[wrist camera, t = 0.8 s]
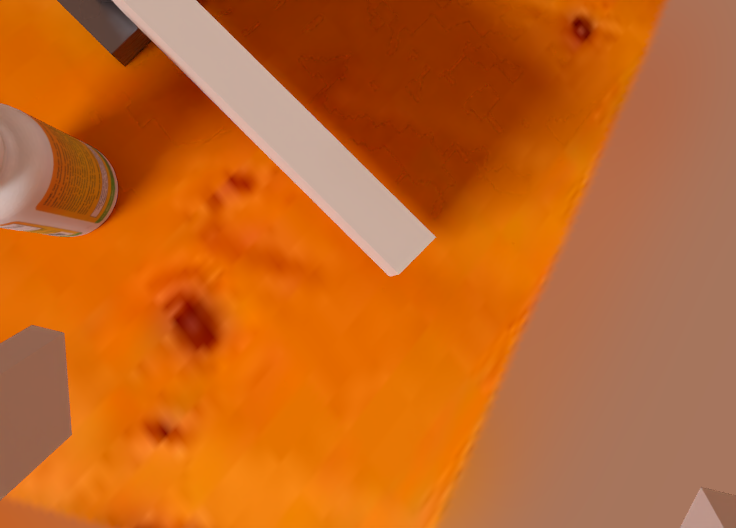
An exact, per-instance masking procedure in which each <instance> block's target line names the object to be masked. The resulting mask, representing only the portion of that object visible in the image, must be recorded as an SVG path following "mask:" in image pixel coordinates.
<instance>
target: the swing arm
mask: <svg viewBox="0 0 736 528" xmlns="http://www.w3.org/2000/svg"><path fill="white" fill-rule="evenodd" d="M112 1H113V2H114V3H115V4H116V5H117V6H118V8H119V9H120V10H121V11H122V12H123V13H124V14H125V15H126V16H127V17H128V18H129V19H130V20H131V21H132V22H133V23H134V24H135V25H136V26H137V27H138V28H139V29H140V30H141V31H142V32H143V33H144V34H145V35H146V36H147V37H148V38H149V39H150V40H151V41H152V42H153V43H154V44H156V45H157V46H158V47H159V48H160V49H161V50H162V51H163V52H164V53H165V54H166V55H167V56H168V57H169V58H170V59H171V60H172V61H173V62H174V63H175V64H176V65H177V66H178V67H179V68H180V69H181V70H182V71H183V72H184V73H185V74H186V75H187V76H188V77H189V78H190V79H191V80H192V81H193V82H194V83H195V84H196V85H197V86H198V87H199V88H200V89H201V90H202V91H203V92H204V93H205V94H206V95H207V96H208V97H209V98H210V99H211V100H212V101H213V102H214V103H215V104H216V105H217V106H218V107H219V108H220V109H221V110H222V111H223V112H224V113H225V114H226V115H227V116H228V117H229V118H230V119H231V120H232V121H233V122H234V123H235V124H236V125H237V126H238V127H239V128H240V129H241V130H242V131H243V132H244V133H245V134H246V135H247V136H248V137H249V138H250V139H251V140H252V141H253V142H254V143H255V144H256V145H257V146H258V147H259V148H260V149H261V150H262V151H263V152H264V153H265V154H266V155H267V156H268V157H269V158H270V159H271V160H272V161H273V162H274V163H275V164H276V165H277V166H278V167H279V168H280V169H282V170H283V171H284V172H285V173H286V174H287V175H288V176H289V177H290V178H291V179H292V180H293V181H294V182H295V183H296V184H297V185H298V186H299V187H300V188H301V189H302V190H303V191H304V192H305V193H306V194H307V195H308V196H309V197H310V198H311V199H312V200H313V201H314V202H315V203H316V204H317V205H318V206H319V207H320V208H321V209H322V210H323V211H324V212H325V213H326V214H327V215H328V216H329V217H330V218H331V219H332V220H333V221H334V222H335V223H336V224H337V225H338V226H339V227H340V228H341V229H342V230H343V231H344V232H345V233H346V234H347V235H348V236H349V237H350V238H351V239H352V240H353V241H354V242H355V243H356V244H357V245H358V246H359V247H360V248H361V249H362V250H363V251H364V252H365V253H366V254H367V255H368V256H369V257H370V258H371V259H372V260H373V261H374V262H375V263H376V264H377V265H378V266H379V267H380V268H381V269H382V270H383V271H384V272H385V273H386V274H387V275H388V276H394V275H398V274H400V273H401V272H402V271H403V270H404V269H405V268H406V267H407V266H408V265H409V264H410V263H411V262H412V261H413V260H414V259H415V258H416V257H417V256H418V255H419V254H420V253H421V252H422V251H423V250H424V249H425V248H426V247H427V246H428V245H429V244H430V243H431V242H432V241H433V240H434V239H435V238H436V237H435V236H434V235H433V234H432V233H431V232H430V231H429V230H428V229H427V228H426V227H425V226H424V225H423V224H422V223H421V222H420V221H419V220H418V219H417V218H416V217H415V216H414V215H413V214H412V213H411V212H410V211H409V210H408V209H407V208H406V207H405V206H404V205H403V204H402V203H401V202H400V201H399V200H398V199H397V198H396V197H395V196H394V195H393V194H392V193H391V192H390V191H389V190H388V189H387V188H386V187H385V186H384V185H383V184H382V183H381V182H380V181H379V180H378V179H376V178H375V177H374V176H373V175H372V174H371V173H370V172H369V171H368V170H367V169H366V168H365V167H364V166H363V165H362V164H361V163H360V162H359V161H358V160H357V159H356V158H355V157H354V156H353V155H352V154H351V153H350V152H349V151H348V150H347V149H346V148H345V147H344V146H343V145H342V144H341V143H340V142H339V141H338V140H337V139H336V138H335V137H334V136H333V135H332V134H331V133H330V132H329V131H328V130H327V129H326V128H325V127H324V126H323V125H322V124H321V123H320V122H319V121H318V120H317V119H316V118H315V117H314V116H313V115H312V114H311V113H310V112H309V111H308V110H307V109H306V108H305V107H304V106H303V105H302V104H301V103H300V102H299V101H298V100H297V99H296V98H295V97H294V96H293V95H291V94H290V93H289V92H288V91H287V90H286V89H285V88H284V87H283V86H282V85H281V84H280V83H279V82H278V81H277V80H276V79H275V78H274V77H273V76H272V75H271V74H270V73H269V72H268V71H267V70H266V69H265V68H264V67H263V66H262V65H261V64H260V63H259V62H258V61H257V60H256V59H255V58H254V57H253V56H252V55H251V54H250V53H249V52H248V51H247V50H246V49H245V48H244V47H243V46H242V45H241V44H240V43H239V42H238V41H237V40H236V39H235V38H234V37H233V36H232V35H231V34H230V33H229V32H228V31H227V30H226V29H225V28H224V27H223V26H222V25H221V24H220V23H219V22H218V21H217V20H216V19H215V18H214V17H213V16H212V15H211V14H210V13H209V12H208V11H206V10H205V9H204V8H203V7H202V6H201V5H200V4H199V3H198V2H197V1H196V0H112Z"/></svg>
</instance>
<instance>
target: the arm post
mask: <svg viewBox="0 0 736 528" xmlns="http://www.w3.org/2000/svg"><path fill="white" fill-rule="evenodd" d="M57 1H58V2H59V3H60V4H61V5H62V6H63V7H64V8H65V9H66V10H67V11H68V12H69V13H71V14H72V15H73V16H74V17H75V18H76V19H77V20H78V21H79V22H80V23H81V24H82V25H83V26H84V27H85V28H86V29H87V30H88V31H89V32H90V33H91V34H92V35H93V36H94V37H95V38H96V39H97V40H98V41H99V42H100V43H101V44H102V45H103V46H104V47H105V48H106V49H107V50H108V51H109V52H110V53H111V54H112V55H113V56H114V57H115V58H116V59H117V60H118V61H119V62H121V63H122V64H123V65H124V66H126V65H127V64H128V63H129V62H130V61H131V60H132V59H133V58H134V57H135V56H136V55H137V54H138V53H139V52H140V51H141V50H142V49H143V48H144V47H145V46H146V45H147V44H149V43H150V42H151V40H150V39H149V38H148V37H147V36H146V35H145V34H144V33H143V32H142V31H141V30H140V29H139V28H138V27H137V26H136V25H135V24H134V23H133V22H132V21H131V20H130V19H129V18H128V17H127V16H126V15H125V14H124V13H123V12H122V11H121V10H120V9H119V8H118V6H117V5H116V4H115V3H114V2H113V1H112V0H57Z"/></svg>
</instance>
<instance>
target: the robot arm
mask: <svg viewBox="0 0 736 528" xmlns="http://www.w3.org/2000/svg"><path fill="white" fill-rule="evenodd" d="M71 435H72V432H71V418H70V405H69V392H68V378H67V365H66V352H65V338H64V333H63V332H59V331H55V330H50V329H46V328H42V327H38V326H34V325H31V326H30V327H28V328H26V329H24V330H23V331H21V332H19V333H18V334H16V335H14V336H12V337H11V338H9V339H7V340H6V341H4V342H2V343H0V500H1V499H2V498H4V497H5V496H6V495H7V494H8V493H9V492H10V491H11V490H12V489H13V488H14V487H15V486H17V485H18V484H19V483H20V482H21V481H22V480H23V479H24V478H25V477H26V476H27V475H29V474H30V473H31V472H32V471H33V470H34V469H35V468H36V467H37V466H38V465H39V464H40V463H42V462H43V461H44V460H45V459H46V458H47V457H48V456H49V455H50V454H51V453H52V452H54V451H55V450H56V449H57V448H58V447H59V446H60V445H61V444H62V443H63V442H64V441H65V440H67V439H68V438H69V437H70V436H71ZM680 528H736V495H732V494H727V493H724V492H720V491H715V490H711V489H707V488H703V487H701V488H700V490H699V492H698V494H697V496H696V498H695V500H694V502H693V504H692V505H691V507H690V510H689V511H688V513H687V515H686V517H685V519H684V521H683V523H682V525H681V527H680Z"/></svg>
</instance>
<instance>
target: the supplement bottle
mask: <svg viewBox="0 0 736 528" xmlns="http://www.w3.org/2000/svg"><path fill="white" fill-rule="evenodd" d="M117 195H118V182H117V178H116V174H115V172H114V169H113V167H112V165H111V164H110V162H109V161H108V160H107V158H106V157H105V156H104V155H103V154H102V153H100V152H99V151H98V150H96V149H95V148H93V147H92V146H90V145H88V144H86V143H84V142H82V141H80V140H78V139H76V138H74V137H72V136H70V135H68V134H66V133H64V132H62V131H60V130H58V129H56V128H54V127H52V126H50V125H48V124H46V123H44V122H42V121H40V120H38V119H36V118H34V117H32V116H30V115H28V114H26V113H24V112H22V111H20V110H18V109H15V108H13V107H11V106H8V105H5V104H1V103H0V228H6V229H13V230H19V231H26V232H33V233H40V234H46V235H52V236H60V237H74V236H80V235H84V234H87V233H89V232H91V231H93V230H95V229H96V228H98V227H99V226H100V225H102V224H103V223H104V222H105V221H106V219H107V218H108V217H109V215H110V214H111V212H112V210H113V208H114V206H115V203H116V200H117Z"/></svg>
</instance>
